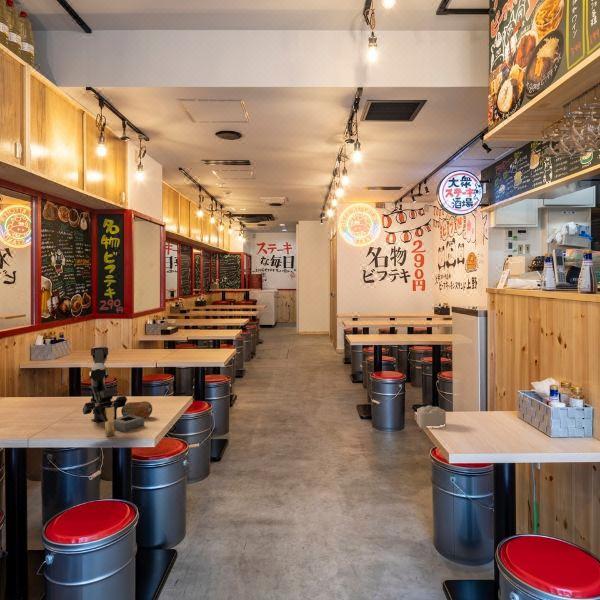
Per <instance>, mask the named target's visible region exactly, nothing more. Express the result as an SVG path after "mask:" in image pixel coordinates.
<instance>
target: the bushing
mask: <svg viewBox="0 0 600 600" xmlns="http://www.w3.org/2000/svg"><path fill="white" fill-rule="evenodd" d="M105 416H106V419H107V422H105V421H104V432H105V436H106V437H107V436H108V437H111V436H114V435H116V429H115V418H114V406H107V407H105Z"/></svg>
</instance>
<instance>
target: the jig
mask: <svg viewBox="0 0 600 600" xmlns="http://www.w3.org/2000/svg"><path fill="white" fill-rule="evenodd" d="M141 426H143V427H145V418H143V417H139V416H135V415H131V414H130V415H126V416H123V415H122V416H120V417H117V419H116V420H115V431H116V430H117V431H120V432H123V433H126V432H130V431H133V430H136V429H139V428H138V427H140V428H142V427H141Z"/></svg>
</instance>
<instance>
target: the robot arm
mask: <svg viewBox="0 0 600 600" xmlns="http://www.w3.org/2000/svg"><path fill="white" fill-rule="evenodd" d="M90 356H91V357H92V362H94V365H92V366H91V370H90V371H89V380H90V381H91V385H90V387H91V390H92V396H91V397H90V401H88V402H85V403H84V405H83V407H82V414H83V415H89V414H91V413H92V415H93V418H91V421H92V422H96V423H102V422H104V423H105V422H107V419H106V416H105V407H107V406H114V418H115V420H116V419H117V418H118V416H117V415H118V414H117V410H118V408H122V407H123V406H124V405H125V404H126V403H127V401H128V398H127V396H126V395H121V396H117V397H116V399H114V400H113V398H114V396H115V395H117V394H118V392H119V391H118V390H119V389H118V388H117V386H113V387H111V388H107V387H106V379H108V377H109V371H108V369H107V367H106V365H105V363H106V362H107V360H108V356H109V348H108V347H106V346H93V348H90ZM106 369H107V370H106Z"/></svg>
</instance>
